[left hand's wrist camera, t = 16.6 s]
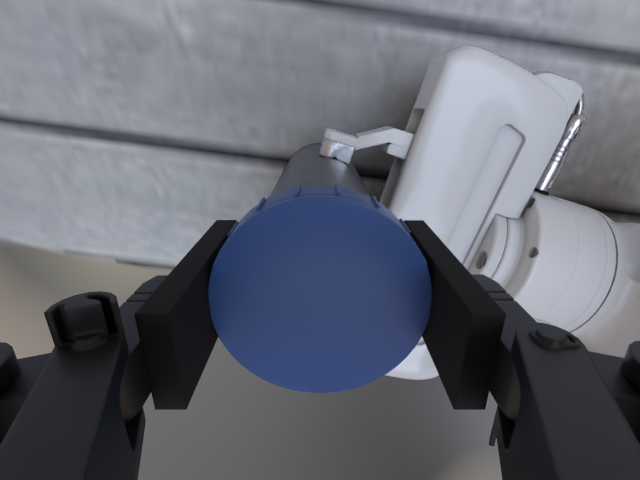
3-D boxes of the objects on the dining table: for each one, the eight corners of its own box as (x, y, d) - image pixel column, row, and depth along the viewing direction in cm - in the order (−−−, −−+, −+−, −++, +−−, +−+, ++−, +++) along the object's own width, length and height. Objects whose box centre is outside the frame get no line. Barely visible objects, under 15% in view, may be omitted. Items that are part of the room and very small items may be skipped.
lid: (250, 374, 13) (241, 408, 12) (193, 204, 11) (173, 219, 9) (427, 346, 13) (441, 378, 11) (408, 162, 10) (423, 172, 9)
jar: (284, 141, 26) (226, 203, 10) (359, 145, 26) (424, 213, 10) (283, 213, 28) (232, 363, 12) (352, 217, 28) (397, 370, 12)
